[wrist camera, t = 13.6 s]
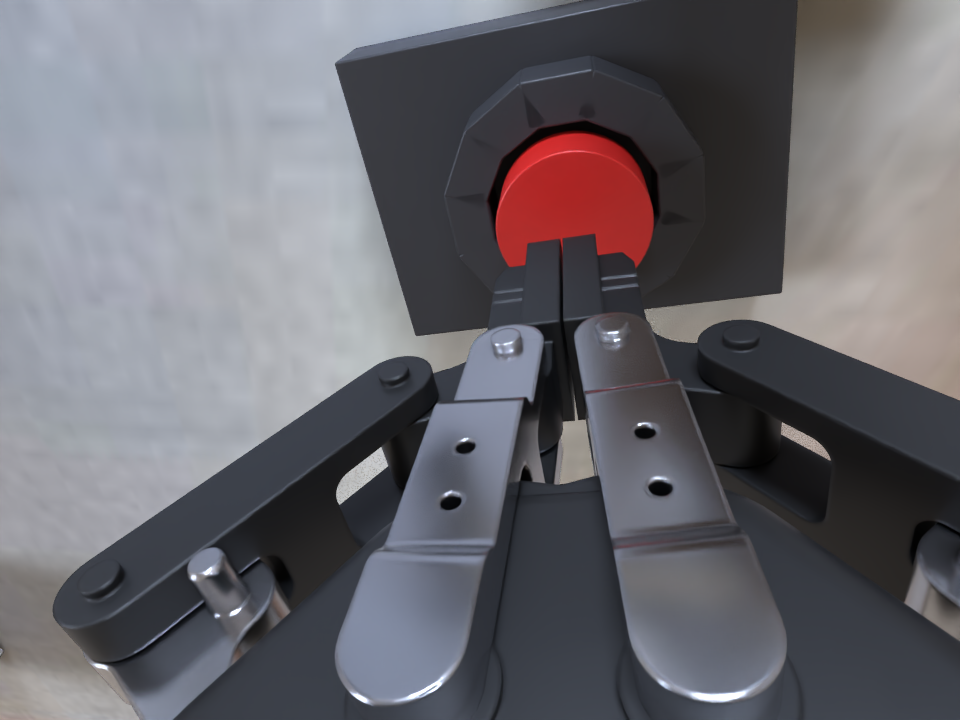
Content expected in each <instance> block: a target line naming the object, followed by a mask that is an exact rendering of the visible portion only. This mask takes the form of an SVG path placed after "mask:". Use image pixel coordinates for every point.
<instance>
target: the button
mask: <svg viewBox="0 0 960 720" xmlns="http://www.w3.org/2000/svg"><path fill="white" fill-rule="evenodd" d="M653 228H654V214H653V207H652V203H651V200H650V196H649V193H648V189H647V186H646V182H645V179H644V175H643V173H642V171H641V169H640V166H639V165H638V163H637V162H636V160H635V159H634V157H633V156H632V155H631V154H630V153H629V152H628V151H627V150H626V149H625V148H624V147H623V146H622V145H620V144H619V143H617V142H616V141H614V140H613V139H610V138H608V137H606V136H604V135H601V134H597V133H594V132H588V131H565V132H560V133H556V134H552V135H550V136H547V137H545V138H543V139H541V140H539V141H537V142H535V143H534V144H532V145H531V146H530V147H528V148H527V149H526V150H525V151H524V152H523V153H522V154H521V155H520V156H519V157H518V158H517V159H516V160H515V162H514V163H513V165H512V166H511V168H510V169H509V171H508V173H507V176H506V178H505V180H504V184H503V187H502V191H501V196H500V201H499V205H498V210H497V216H496V236H497V241H498V245H499V249H500V251H501V253H502V256H503V258H504V259H505V261H506V263H507V264H508V266H509V267H515V266H522V265H525V263H526V252H527V244H528V243H532V242H539V241H546V240H553V239H560V241H561V246H562V252H563V238H567V237H574V236H581V235H588V234H595V235H596V244H597V253H598V255H602V254H610V253H617V252H623V253H624V254H625V255H627V256H628V257H629V258H631V259H632V260H633V261H634V263H635V268H636V267H637V266H638V265H639V264H640V262H641V261H642V259H643V258H644V256H645V254H646V252H647V250H648V248H649V245H650V242H651V239H652V235H653Z"/></svg>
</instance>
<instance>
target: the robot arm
mask: <svg viewBox="0 0 960 720" xmlns="http://www.w3.org/2000/svg"><path fill="white" fill-rule="evenodd" d="M574 395H575V402H576V408H577V415H578V420H585V419H586V424H587V432H588V439H589V446H590V452H591V458H592V464H593V470H594V476H593V477H590V478H586V479H582V480H578V481H575V482H571V483H567V484H560V475H561V465H562V456H563V447H562V442H561V435H562V431H563V422H564V421H575V408H574ZM782 422H783V423H785V424H787V425H789V426H791V427H793V428H795V429H797V430H799V431H801V432H803V433H804V434H806V435H808V436H810V437H812V438H814V439H815V440H817V441H818V442H819V443H820V444H821V445H822V446H823V447H824V448H825V449H826V451H827V452H828V454H829V456H830V459H831V461H829V460H828V459H826V458H824V457H822V456H820V455H818V454H816V453H815V452H813V451H811V450H809V449H807V448H805V447H803V446H802V445H800V444H798V443H796V442H794V441H792V440H790V439H789V438H787V437H785V436H783V435H781V426H782ZM380 447H382V450H383V452H384V455H385V458H386V460H387V463H388V467H387V468H386V469H384V470H383V471H382V472H381V473H379V474H378V475H377V476H376V477H374V478H373V479H372V480H371V481H369V482H368V483H367V484H366V485H364V486H363V487H362V488H360V489H359V490H358V491H357V492H355V493H354V494H353V495H352V496H350V497H349V498H348V499H347V500H345V501H344V502H343V503H342V504H340V505H339V504H338V502H337V499H336V490H337V487H338V484H339V482H340V480H341V479H342V478H343V476H344V475H345V474H346V473H348V472H349V471H350V470H351V469H353V468H354V467H355V466H357V465H358V464H359V463H361V462H362V461H363V460H364V459H366V458H367V457H368V456H370V455H371V454H372V453H374V452H375V451H376V450H377V449H379V448H380ZM53 616H54V618H55V620H56V622H57V623H58V624H59V625H60V626H61V627H62V628H63V629H64V631H65V632H66V633H67V634H68V635H69V636H70V637H71V638H72V639H73V641H74V642H75V643H76V644H77V645H78V646H79V647H80V648H81V649H82V651H83V654H84V657H85V658H86V660H87V661H88V662H89V663H90V664H91V666H92V667H93V668H94V669H95V670H96V671H97V672H98V673H99V674H100V675H101V677H102V678H103V679H104V680H105V681H106V682H107V683H108V684H109V685H110V687H111V688H112V689H113V690H114V691H115V692H116V693H117V694H118V695H119V696H120V698H121V699H122V700H123V701H124V702H126V703H127V704H129V705H131V706H132V707H133V709H134V711H135V712H136V714H137V716H138V717H139V719H140V720H960V401H959V400H957V399H954V398H952V397H949V396H947V395H944V394H942V393H939V392H937V391H934V390H932V389H929V388H927V387H924V386H922V385H919V384H917V383H914V382H912V381H909V380H907V379H904V378H902V377H899V376H897V375H894V374H892V373H889V372H887V371H884V370H882V369H879V368H877V367H874V366H872V365H869V364H867V363H864V362H862V361H859V360H857V359H854V358H852V357H849V356H847V355H844V354H842V353H839V352H837V351H834V350H832V349H829V348H827V347H824V346H822V345H819V344H817V343H814V342H812V341H809V340H807V339H804V338H802V337H799V336H797V335H794V334H792V333H789V332H787V331H784V330H782V329H779V328H777V327H774V326H772V325H769V324H766V323H763V322H759V321H753V320H731V321H725V322H721V323H718V324H715V325H713V326H711V327H709V328H707V329H706V330H704V331H703V332H702V333H701V334H700V336H699V338H698V342H697V343H686V342H677V341H673V340H669V339H666V338H663V337H661V336H659V335H657V334H656V333H654V332H653V330H652V327H651V325H650V323H649V322H648V321H647V320H646V317H645V312H644V307H643V302H642V297H641V292H640V287H639V282H638V278H637V273H636V268H635V263H634V261H633V260H632V259H631V258H629V257H628V256H627V255H625V254H624V253H623V252H617V253H610V254H602V255H598V253H597V244H596V235H595V234H588V235H581V236H574V237H567V238H563V252H562V246H561V241H560V239H553V240H546V241H539V242H532V243H528V244H527V252H526V263H525V265H522V266H515V267H507V268H506V269H505V270H504V271H503V272H502V273H501V274H500V276H499V277H498V278H497V279H496V281H495V287H494V295H493V299H492V305H491V311H490V317H489V323H488V329H487V331H486V332H485V333H483V334H481V335H480V336H479V337H478V338H477V339H476V340H475V341H474V342H473V344H472V346H471V349H470V352H469V355H468V358H467V361H466V362H465V363H463V364H460V365H458V366H455V367H453V368H450V369H446V370H443V371H440V372H437V373H433V371H432V368H431V365H430V364H429V363H428V362H427V361H426V360H424V359H422V358H419V357H413V356H404V357H397V358H393V359H389V360H386V361H384V362H382V363H379V364H377V365H376V366H374V367H373V368H371V369H370V370H368V371H367V372H365V373H364V374H362V375H361V376H359V377H358V378H356V379H355V380H353V381H352V382H350V383H349V384H348V385H346V386H345V387H343V388H342V389H340V390H339V391H337V392H336V393H334V394H333V395H331V396H330V397H328V398H327V399H325V400H324V401H323V402H321V403H320V404H318V405H317V406H315V407H314V408H312V409H311V410H309V411H308V412H306V413H305V414H303V415H302V416H301V417H299V418H298V419H296V420H295V421H293V422H292V423H290V424H289V425H287V426H286V427H284V428H283V429H281V430H280V431H278V432H277V433H276V434H274V435H273V436H271V437H270V438H268V439H267V440H265V441H264V442H262V443H261V444H259V445H258V446H256V447H255V448H254V449H252V450H251V451H249V452H248V453H246V454H245V455H243V456H242V457H240V458H239V459H237V460H236V461H234V462H233V463H231V464H230V465H229V466H227V467H226V468H224V469H223V470H221V471H220V472H218V473H217V474H215V475H214V476H212V477H211V478H209V479H208V480H207V481H205V482H204V483H202V484H201V485H199V486H198V487H196V488H195V489H193V490H192V491H190V492H189V493H187V494H186V495H185V496H183V497H182V498H180V499H179V500H177V501H176V502H174V503H173V504H171V505H170V506H168V507H167V508H165V509H164V510H162V511H161V512H160V513H158V514H157V515H155V516H154V517H152V518H151V519H149V520H148V521H146V522H145V523H143V524H142V525H140V526H139V527H138V528H136V529H135V530H133V531H132V532H130V533H129V534H127V535H126V536H124V537H123V538H121V539H120V540H118V541H117V542H115V543H114V544H113V545H111V546H110V547H108V548H107V549H105V550H104V551H102V552H101V553H99V554H98V555H96V556H95V557H93V558H92V559H91V560H89V561H88V562H86V563H85V564H84V565H82V566H81V567H80V568H79V569H77V570H76V571H75V572H74V573H73V574H72V575H71V576H70V577H69V578H68V579H67V581H66V582H65V583H64V584H63V586H62V587H61V589H60V590H59V592H58V594H57V596H56V598H55V600H54V604H53Z"/></svg>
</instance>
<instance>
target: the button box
mask: <svg viewBox="0 0 960 720" xmlns="http://www.w3.org/2000/svg"><path fill="white" fill-rule="evenodd" d="M797 3H798V0H584V1H579V2H574V3H569V4H565V5H560V6H555V7H550V8H546V9H541V10H536V11H531V12H527V13H522V14H517V15H512V16H508V17H503V18H498V19H493V20H488V21H484V22H479V23H474V24H469V25H465V26H460V27H455V28H450V29H446V30H441V31H436V32H431V33H427V34H422V35H417V36H412V37H408V38H403V39H398V40H393V41H389V42H384V43H379V44H374V45H370V46H365V47H360V48H356V49H354V50H353V51H352V52H350V53H349V54H347V55H346V56H344V57H343V58H342V59H340V60H339V61H337V62H336V63H335V66H336V70H337V73H338V76H339V80H340V83H341V86H342V90H343V93H344V96H345V100H346V103H347V106H348V110H349V113H350V117H351V120H352V123H353V127H354V130H355V133H356V137H357V140H358V143H359V147H360V150H361V154H362V157H363V160H364V164H365V167H366V170H367V174H368V177H369V180H370V184H371V187H372V191H373V194H374V197H375V201H376V204H377V207H378V211H379V214H380V217H381V221H382V224H383V228H384V231H385V234H386V238H387V241H388V244H389V248H390V251H391V254H392V258H393V261H394V264H395V268H396V271H397V275H398V278H399V281H400V285H401V288H402V291H403V295H404V298H405V301H406V305H407V308H408V312H409V315H410V318H411V322H412V325H413V328H414V332H415V335H416V336H421V335H430V334H438V333H447V332H455V331H464V330H472V329H481V328H488V323H489V317H490V311H491V305H492V299H493V295H494V287H495V281H496V279H497V278H498V277H499V276H500V274H501V273H502V272H503V271H504V270H505V269H506V268H507V267H509V266H508V264H507V263H506V261H505V259H504V258H503V256H502V253H501V251H500V249H499V245H498V241H497V236H496V216H497V210H498V205H499V201H500V196H501V191H502V187H503V184H504V180H505V178H506V176H507V173H508V171H509V169H510V168H511V166H512V165H513V163H514V162H515V160H516V159H517V158H518V157H519V156H520V155H521V154H522V153H523V152H524V151H525V150H526V149H527V148H528V147H530V146H531V145H532V144H534V143H535V142H537V141H539V140H541V139H543V138H545V137H547V136H550V135H552V134H556V133H560V132H565V131H588V132H594V133H597V134H601V135H604V136H606V137H608V138H610V139H613V140H614V141H616V142H617V143H619V144H620V145H622V146H623V147H624V148H625V149H626V150H627V151H628V152H629V153H630V154H631V155H632V156H633V157H634V159H635V160H636V162H637V163H638V165H639V166H640V169H641V171H642V173H643V175H644V179H645V182H646V186H647V189H648V193H649V196H650V200H651V203H652V207H653V214H654V228H653V235H652V239H651V242H650V245H649V248H648V250H647V252H646V254H645V256H644V258H643V259H642V261H641V262H640V264H639V265H638V266H637V267H636V273H637V278H638V282H639V287H640V292H641V297H642V302H643V307H644V309H651V308H659V307H668V306H676V305H685V304H693V303H702V302H710V301H719V300H727V299H735V298H744V297H752V296H761V295H769V294H778V293H781V292H782V282H783V264H784V245H785V226H786V208H787V189H788V171H789V152H790V133H791V115H792V96H793V78H794V59H795V40H796V22H797Z"/></svg>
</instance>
